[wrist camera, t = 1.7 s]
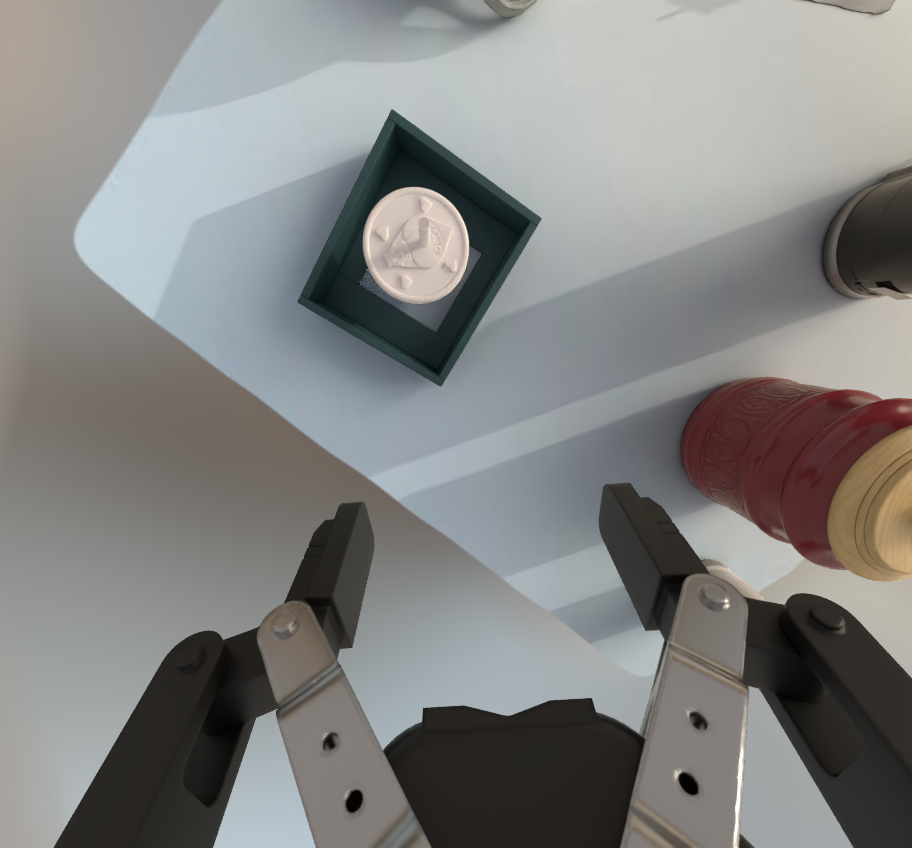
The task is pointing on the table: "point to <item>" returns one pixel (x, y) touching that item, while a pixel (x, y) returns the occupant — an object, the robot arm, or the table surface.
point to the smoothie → (416, 245)
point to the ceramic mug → (509, 6)
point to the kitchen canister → (811, 469)
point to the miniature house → (862, 5)
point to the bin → (489, 231)
